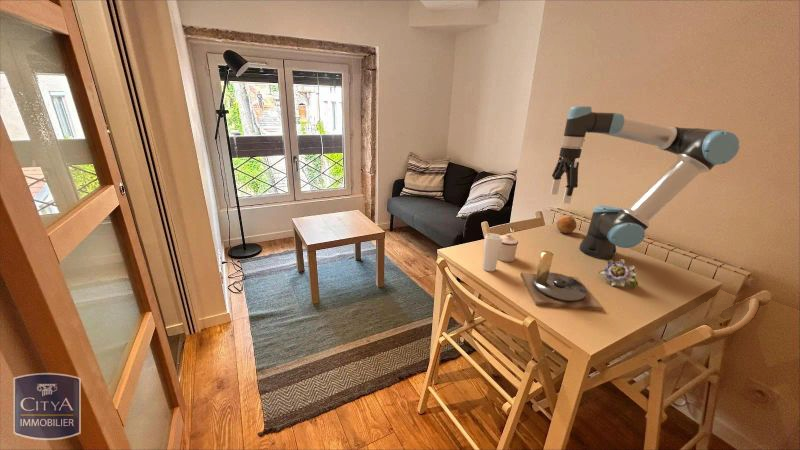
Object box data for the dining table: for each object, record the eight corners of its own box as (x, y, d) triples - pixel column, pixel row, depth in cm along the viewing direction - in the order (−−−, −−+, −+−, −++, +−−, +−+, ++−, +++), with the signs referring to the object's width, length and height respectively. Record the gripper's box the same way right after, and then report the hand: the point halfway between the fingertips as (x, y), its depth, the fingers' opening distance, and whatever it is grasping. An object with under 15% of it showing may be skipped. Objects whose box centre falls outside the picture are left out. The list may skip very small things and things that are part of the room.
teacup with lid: (518, 258, 142) (523, 235, 138) (507, 264, 136) (512, 240, 132) (496, 249, 150) (499, 226, 146) (484, 254, 145) (488, 231, 141)
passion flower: (609, 297, 125) (595, 272, 124) (612, 281, 132) (599, 258, 131) (642, 293, 117) (628, 266, 116) (643, 277, 124) (630, 251, 123)
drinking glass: (488, 274, 128) (493, 240, 122) (477, 266, 133) (481, 234, 128) (500, 270, 131) (506, 238, 125) (489, 263, 136) (494, 232, 131)
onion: (552, 228, 180) (555, 212, 176) (570, 230, 179) (574, 213, 175) (558, 235, 171) (562, 218, 167) (577, 236, 170) (581, 219, 166)
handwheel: (529, 272, 126) (535, 242, 122) (577, 279, 123) (585, 248, 118) (537, 297, 110) (545, 263, 105) (593, 305, 107) (603, 271, 102)
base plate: (576, 280, 126) (577, 277, 125) (601, 310, 107) (602, 307, 106) (520, 275, 127) (521, 272, 127) (535, 305, 109) (536, 301, 108)
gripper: (596, 152, 113) (582, 207, 121) (568, 144, 136) (557, 191, 144) (575, 151, 113) (562, 206, 121) (550, 143, 137) (541, 190, 144)
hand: (559, 198), depth 132 cm, fingers open, 13 cm apart
